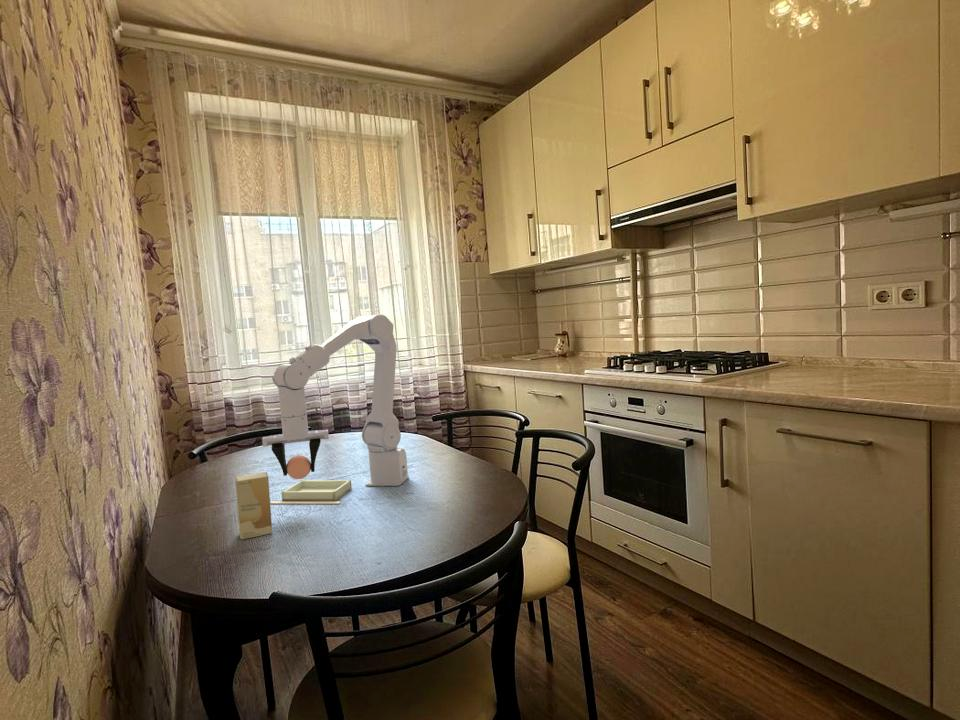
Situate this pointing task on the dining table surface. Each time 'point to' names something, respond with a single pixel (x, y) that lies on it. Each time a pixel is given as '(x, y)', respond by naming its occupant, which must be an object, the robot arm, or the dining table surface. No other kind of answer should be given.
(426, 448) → the dining table surface
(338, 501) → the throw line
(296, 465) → the ball
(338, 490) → the tray
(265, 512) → the skincare box
